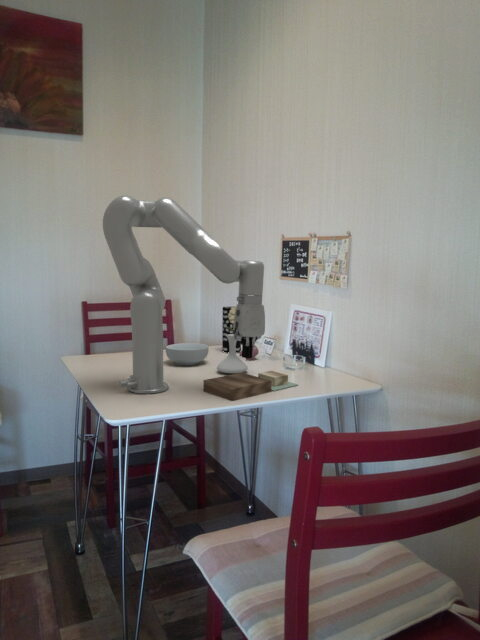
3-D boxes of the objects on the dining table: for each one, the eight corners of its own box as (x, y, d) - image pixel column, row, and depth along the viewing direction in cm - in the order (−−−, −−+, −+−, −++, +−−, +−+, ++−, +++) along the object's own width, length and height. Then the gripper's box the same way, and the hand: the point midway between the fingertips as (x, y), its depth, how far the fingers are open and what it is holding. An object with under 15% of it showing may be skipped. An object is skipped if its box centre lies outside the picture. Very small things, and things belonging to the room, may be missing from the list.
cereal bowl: (212, 360, 199) (212, 343, 198) (202, 369, 183) (202, 350, 182) (173, 358, 202) (173, 341, 201) (159, 366, 185) (159, 348, 185)
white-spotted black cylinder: (222, 349, 222) (223, 306, 220) (241, 350, 222) (241, 306, 219) (221, 353, 214) (221, 308, 211) (240, 353, 214) (240, 308, 211)
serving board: (232, 400, 141) (232, 389, 141) (203, 391, 151) (203, 380, 151) (271, 391, 152) (271, 380, 151) (241, 382, 162) (241, 372, 162)
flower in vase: (211, 373, 175) (211, 304, 172) (226, 367, 185) (226, 302, 182) (243, 377, 169) (243, 306, 166) (257, 371, 179) (258, 304, 176)
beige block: (288, 375, 159) (287, 383, 160) (271, 370, 165) (271, 379, 166) (275, 377, 155) (274, 386, 156) (258, 373, 161) (258, 381, 162)
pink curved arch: (254, 364, 199) (262, 349, 199) (245, 360, 197) (252, 344, 197) (246, 359, 208) (253, 345, 208) (237, 355, 206) (245, 340, 207)
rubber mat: (273, 391, 152) (273, 390, 151) (241, 382, 163) (241, 381, 163) (298, 385, 159) (298, 384, 159) (266, 377, 170) (266, 376, 170)
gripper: (240, 301, 144) (237, 362, 146) (275, 301, 154) (271, 357, 156) (224, 299, 149) (221, 357, 152) (259, 298, 159) (255, 353, 161)
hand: (246, 357), depth 154 cm, fingers closed
